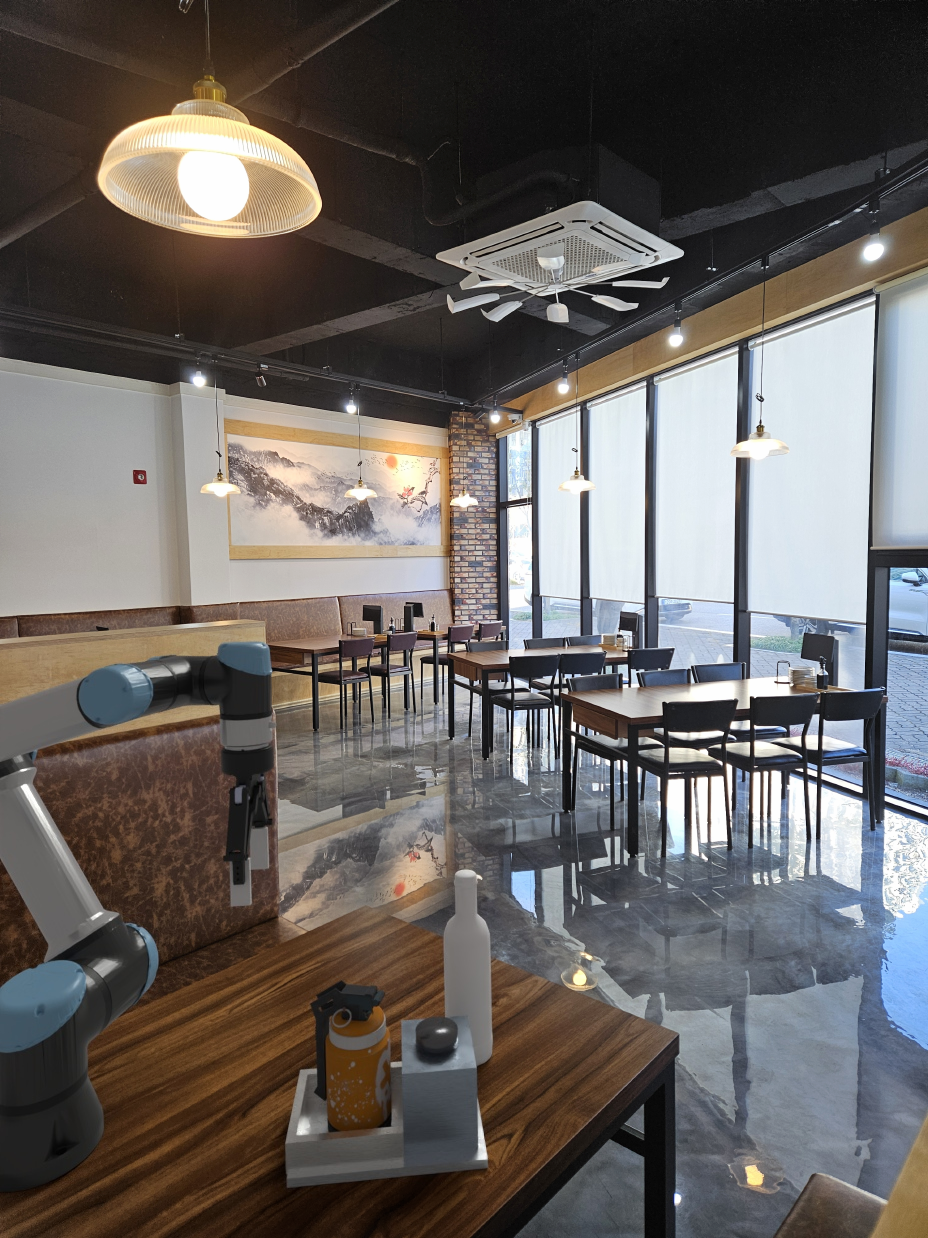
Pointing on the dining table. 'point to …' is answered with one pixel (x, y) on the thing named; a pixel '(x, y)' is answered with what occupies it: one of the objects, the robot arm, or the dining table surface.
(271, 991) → the dining table surface
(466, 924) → the bottle
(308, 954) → the dining table surface
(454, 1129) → the grey holder tray
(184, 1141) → the dining table surface
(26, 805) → the robot arm
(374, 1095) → the canister
